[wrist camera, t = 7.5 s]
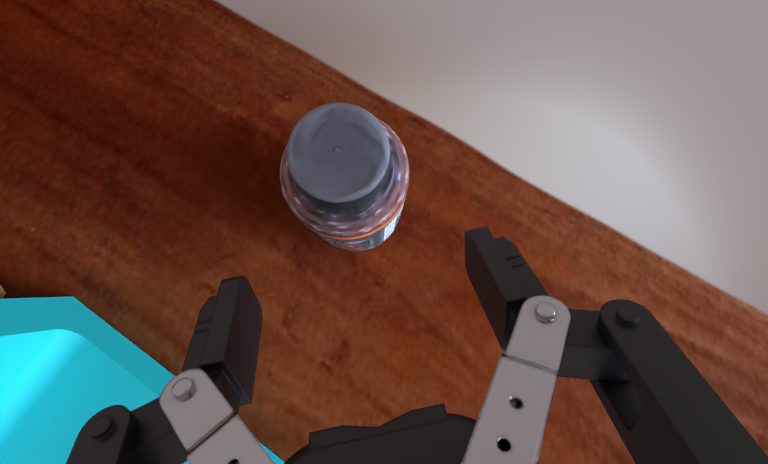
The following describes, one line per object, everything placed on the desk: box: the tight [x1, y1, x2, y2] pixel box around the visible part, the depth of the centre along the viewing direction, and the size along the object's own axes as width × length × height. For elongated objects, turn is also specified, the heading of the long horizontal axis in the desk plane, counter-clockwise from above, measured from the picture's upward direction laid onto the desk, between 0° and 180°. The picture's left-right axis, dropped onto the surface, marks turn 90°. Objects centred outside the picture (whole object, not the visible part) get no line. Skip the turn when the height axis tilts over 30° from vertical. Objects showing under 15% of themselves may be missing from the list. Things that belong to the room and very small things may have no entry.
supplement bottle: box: [280, 103, 409, 251], centre depth 20 cm, size 6×6×11 cm
